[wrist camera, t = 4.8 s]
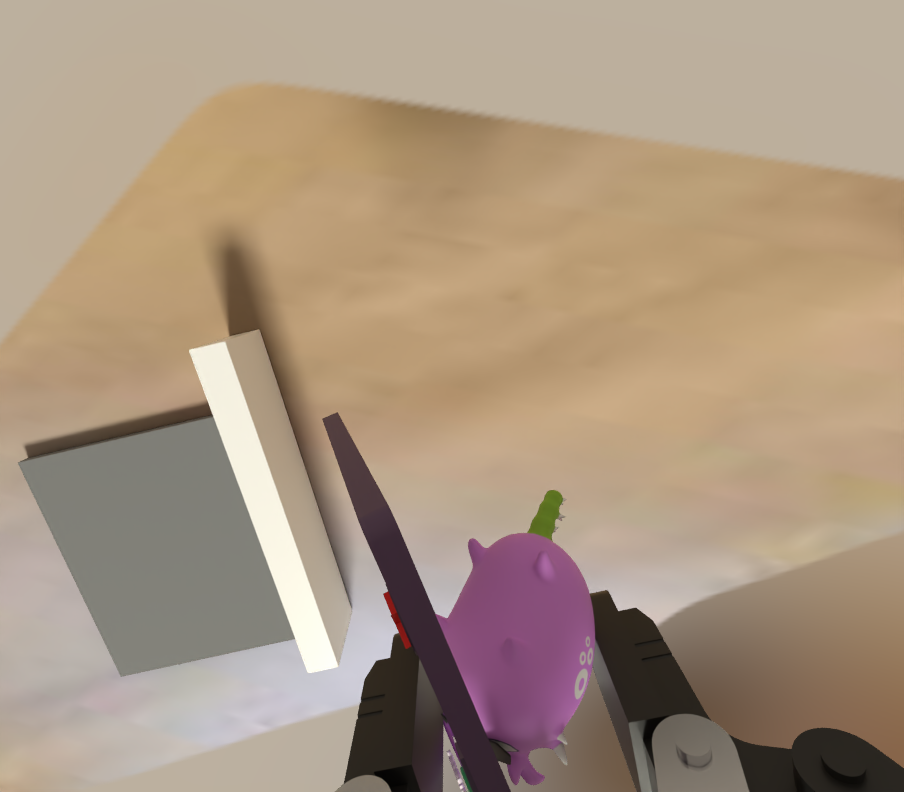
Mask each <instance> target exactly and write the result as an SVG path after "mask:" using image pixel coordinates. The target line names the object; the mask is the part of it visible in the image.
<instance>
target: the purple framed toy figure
mask: <svg viewBox="0 0 904 792" xmlns="http://www.w3.org/2000/svg"><path fill="white" fill-rule="evenodd" d="M323 422H324V425H325V428H326V431H327V433H328V436H329V439H330V442H331V445H332V447H333V450H334V453H335V456H336V459H337V461H338V464H339V467H340V470H341V473H342V476H343V478H344V481H345V484H346V487H347V490H348V492H349V495H350V498H351V501H352V504H353V506H354V509H355V512H356V515H357V518H358V520H359V523H360V526H361V528H362V530H363V533H364V535H365V537H366V540H367V542H368V544H369V547H370V549H371V551H372V553H373V556H374V558H375V560H376V562H377V565H378V567H379V569H380V571H381V573H382V576H383V578H384V580H385V582H386V586H387V589H388V592H386V593H384V594H383V595H384V597H385V600H386V602H387V605H388V607H389V610H390V612H391V614H392V615H391V617H392V619H393V621H394V622H395V624H396V627H397V629H398V631H399V634H400V636H401V638H402V641H403V643H404V646H405V648H406V649H407V648H409V647H411V646H412V648H413V650H414V652H415V654H416V656H417V655H418V656H419V659H420V661H421V663H422V665H423V668H424V670H425V672H426V674H427V677H428V679H429V681H430V683H431V686H432V688H433V690H434V692H435V695H436V697H437V699H438V701H439V704H440V706H441V708H442V710H443V714H442V713H441V716H442V718H443V724H444V727H445V729H446V732H447V734H448V737H449V739H450V742H451V744H452V746H453V749H454V751H455V753H456V755H457V757H458V759H459V762H460V764H461V766H462V767H461V768H460V769H461V773H462V775H463V778H464V780H465V783H466V785H467V788H468V791H466V790H465V787H464V785H463V782H462V779H461V777H460V773H459V771H458V769H457V766H456V763H455V761H454V758H453V755H452V753H451V751H450V750H449V751H447V754H448V757H449V759H450V762H451V765H452V768H453V770H454V773H455V776H456V778H457V781H458V783H459V787H460V789H461V792H511V791H510V789H509V786H508V784H507V782H506V779H505V777H504V775H503V772H502V770H501V768H500V765H499V763H498V761H501V762H503V763H506V764H507V767H508V772H509V776H510V778H511V780H512V782H513V783H514V784H515V785H517V784H518V782H519V779H520V775H521V776H522V777H523V779H524V780H525V781H526V782H527V783H528V784H530V785H537V784H539V783H541V782H542V781H543V780H544V778H545V777H544V776H543V775H541V774H540V773H538V772H537V771H536V770H535V769H534V768H533V766H532V765H531V763H530V761H529V759H528V755H529V753H530V751H531V750H534V749H538V748H550V749H552V750H554V751H555V753H556V754H557V755H558V757H559V758H560V760H561V761H562V762H563V763H564V764H565V765H567V757H566V753H565V749H564V745H563V743H564V744H566V745H567V741H566V738H565V736H564V733H563V730H564V728H565V726H566V725H567V723H568V722H569V720H570V719H571V717H572V716H573V714H574V713H575V711H576V709H577V707H578V706H579V703H580V702H581V700H582V697H583V695H584V693H585V690H586V688H587V685H588V682H589V679H590V675H591V671H592V666H593V659H594V650H595V624H594V614H593V607H592V602H591V597H590V594H589V590H588V587H587V585H586V582H585V580H584V578H583V575H582V574H581V572H580V570H579V568H578V567H577V565H576V564H575V562H574V561H573V560H572V559H571V557H570V556H569V555H568V554H567V553H566V552H565V551H564V550H563V549H562V548H560V547H559V546H558V545H556V544H555V543H553V541H552V533H553V532H555V530H556V529H558V527H555V520H556V519H559V520H560V521H562V518H563V517H566V516H563V515H561V514H560V513H559V506H560V505H561V504H562V505H563V501H564V500H566V499H564V498H562V495H561V494H560V493H559V492H558V491H556V490H550V491H548V492H547V493H546V495H545V497H544V500H543V502H542V503H541V504H540V507H539V510H538V513H537V515H536V516H535V517H534V519H533V520H532V523H531V526H530V529H529V531H528V532H527V533H518V534H511V535H508V536H506V537H504V538H501V539H500V540H498V541H497V542H495V543H494V544H492V545H491V546H490V547H489V548H484V547H483V546H481V544H480V543H479V542H478V541H477V540H475V539H473V538H472V539H470V540H469V542H468V549H469V553H470V556H471V559H472V563H473V569H472V572H471V574H470V576H469V578H468V580H467V582H466V584H465V586H464V588H463V590H462V592H461V594H460V596H459V598H458V600H457V602H456V604H455V606H454V608H453V610H452V612H451V613H450V615H449V617H448V618H444V617H442V616H440V615H437V614H435V612H434V610H433V608H432V605H431V603H430V600H429V598H428V596H427V593H426V591H425V589H424V586H423V584H422V582H421V579H420V577H419V575H418V572H417V570H416V568H415V565H414V563H413V560H412V558H411V556H410V553H409V551H408V549H407V546H406V544H405V542H404V539H403V537H402V535H401V532H400V530H399V528H398V525H397V523H396V521H395V519H394V516H393V514H392V512H391V510H390V508H389V506H388V504H387V502H386V500H385V499H384V497H383V495H382V493H381V491H380V489H379V488H378V486H377V484H376V482H375V480H374V478H373V477H372V475H371V473H370V471H369V469H368V467H367V466H366V464H365V462H364V460H363V458H362V456H361V455H360V453H359V451H358V449H357V447H356V445H355V444H354V442H353V440H352V438H351V436H350V434H349V433H348V431H347V429H346V427H345V425H344V423H343V422H342V420H341V418H340V416H339V414H338V412H337V413H335V414H332V415H330V416H328V417H325V418H323ZM452 736H453V737H455V739H456V743H454V740H453V737H452Z"/></svg>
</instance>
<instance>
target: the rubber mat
mask: <svg viewBox="0 0 904 792" xmlns="http://www.w3.org/2000/svg"><path fill="white" fill-rule="evenodd" d="M18 464H19V466H20V468H21V470H22V473H23V475H24V477H25V479H26V481H27V483H28V485H29V487H30V489H31V491H32V493H33V495H34V497H35V499H36V502H37V504H38V506H39V508H40V510H41V512H42V514H43V516H44V518H45V520H46V522H47V524H48V526H49V528H50V531H51V533H52V535H53V537H54V539H55V541H56V543H57V545H58V547H59V549H60V551H61V553H62V555H63V557H64V560H65V562H66V564H67V566H68V568H69V570H70V572H71V574H72V576H73V578H74V580H75V582H76V584H77V586H78V588H79V591H80V593H81V595H82V597H83V599H84V601H85V603H86V605H87V607H88V609H89V611H90V613H91V615H92V617H93V620H94V622H95V624H96V626H97V628H98V630H99V632H100V634H101V636H102V638H103V640H104V642H105V644H106V646H107V649H108V651H109V653H110V655H111V657H112V659H113V661H114V663H115V665H116V667H117V669H118V671H119V673H120V675H121V677H122V676H126V675H131V674H136V673H140V672H145V671H149V670H154V669H159V668H163V667H168V666H172V665H177V664H182V663H186V662H191V661H196V660H200V659H205V658H209V657H214V656H219V655H223V654H228V653H232V652H237V651H242V650H246V649H251V648H255V647H260V646H265V645H269V644H274V643H278V642H283V641H288V640H292V639H295V637H294V634H293V631H292V628H291V626H290V623H289V620H288V618H287V615H286V612H285V609H284V607H283V604H282V601H281V599H280V596H279V593H278V590H277V588H276V585H275V582H274V580H273V577H272V574H271V571H270V569H269V566H268V563H267V561H266V558H265V555H264V552H263V550H262V547H261V544H260V542H259V539H258V536H257V533H256V531H255V528H254V525H253V523H252V520H251V517H250V514H249V512H248V509H247V506H246V504H245V501H244V498H243V495H242V493H241V490H240V487H239V485H238V482H237V479H236V476H235V474H234V471H233V468H232V466H231V463H230V460H229V457H228V455H227V452H226V449H225V447H224V444H223V441H222V438H221V436H220V433H219V430H218V428H217V425H216V422H215V419H214V417H213V415H210V416H206V417H201V418H197V419H193V420H188V421H184V422H180V423H176V424H171V425H167V426H163V427H159V428H154V429H150V430H146V431H141V432H137V433H133V434H129V435H124V436H120V437H116V438H112V439H107V440H103V441H99V442H94V443H90V444H86V445H82V446H77V447H73V448H69V449H65V450H60V451H56V452H52V453H47V454H43V455H39V456H35V457H30V458H27V459H25V460H22V461H20V462H18Z"/></svg>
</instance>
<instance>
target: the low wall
mask: <svg viewBox="0 0 904 792" xmlns="http://www.w3.org/2000/svg"><path fill="white" fill-rule="evenodd" d="M189 352H190V354H191V357H192V360H193V363H194V365H195V368H196V371H197V373H198V376H199V379H200V382H201V384H202V387H203V390H204V392H205V395H206V398H207V400H208V403H209V406H210V409H211V411H212V414H213V417H214V419H215V422H216V425H217V428H218V430H219V433H220V436H221V438H222V441H223V444H224V447H225V449H226V452H227V455H228V457H229V460H230V463H231V466H232V468H233V471H234V474H235V476H236V479H237V482H238V485H239V487H240V490H241V493H242V495H243V498H244V501H245V504H246V506H247V509H248V512H249V514H250V517H251V520H252V523H253V525H254V528H255V531H256V533H257V536H258V539H259V542H260V544H261V547H262V550H263V552H264V555H265V558H266V561H267V563H268V566H269V569H270V571H271V574H272V577H273V580H274V582H275V585H276V588H277V590H278V593H279V596H280V599H281V601H282V604H283V607H284V609H285V612H286V615H287V618H288V620H289V623H290V626H291V628H292V631H293V634H294V637H295V639H296V642H297V645H298V647H299V650H300V653H301V656H302V658H303V661H304V664H305V666H306V669H307V672H308V673H312V672H316V671H321V670H326V669H330V668H335V667H338V666H339V662H340V658H341V654H342V650H343V646H344V642H345V639H346V635H347V631H348V627H349V623H350V619H351V615H352V609H351V606H350V603H349V600H348V597H347V594H346V591H345V588H344V584H343V581H342V578H341V575H340V572H339V569H338V566H337V563H336V560H335V557H334V554H333V551H332V548H331V545H330V542H329V539H328V536H327V533H326V530H325V527H324V524H323V521H322V518H321V515H320V512H319V509H318V506H317V502H316V499H315V496H314V493H313V490H312V487H311V484H310V481H309V478H308V475H307V472H306V469H305V466H304V463H303V460H302V457H301V454H300V451H299V448H298V445H297V442H296V439H295V436H294V433H293V430H292V427H291V424H290V421H289V417H288V414H287V411H286V408H285V405H284V402H283V399H282V396H281V393H280V390H279V387H278V384H277V381H276V378H275V375H274V372H273V369H272V366H271V363H270V360H269V357H268V354H267V351H266V348H265V345H264V342H263V339H262V335H261V332H260V329H258V330H254V331H250V332H245V333H241V334H237V335H233V336H229V337H226V338H223V339H220V340H217V341H214V342H211V343H208V344H205V345H202V346H199V347H196V348H193V349H190V350H189Z"/></svg>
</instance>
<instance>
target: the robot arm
mask: <svg viewBox="0 0 904 792" xmlns="http://www.w3.org/2000/svg"><path fill="white" fill-rule="evenodd" d="M590 597H591V602H592V607H593V614H594V624H595V650H594V659H593V669H594V672H595V675H596V678H597V681H598V684H599V687H600V690H601V692H602V695H603V698H604V701H605V704H606V707H607V709H608V712H609V714H610V718H611V721H612V723H613V726H614V729H615V732H616V735H617V737H618V740H619V743H620V746H621V749H622V751H623V754H624V757H625V760H626V762H627V765H628V768H629V771H630V774H631V777H632V780H633V782H634V785H635V788H636V791H637V792H904V768H902V767H901V766H900V765H898V764H897V763H896V762H894V761H893V760H892V759H890V758H889V757H887V756H886V755H884V754H883V753H882V752H880V751H879V750H878V749H877V748H875V747H874V746H872V745H871V744H869V743H868V742H866V741H864V740H863V739H861V738H859V737H857V736H855V735H852V734H850V733H847V732H844V731H841V730H837V729H831V728H816V729H811V730H807V731H805V732H803V733H801V734H800V735H799V736H798V737H797V738H796V739H795V741H794V743H793V746H792V749H785V748H777V747H768V746H760V745H755V744H750V743H747V742H743V741H741V740H739V739H736V738H734V737H732V736H731V735H729V734H727V733H726V731H724V730H723V729H722V728H721V727H720V726H719V725H717V724H716V723H714V722H713V721H711V719H710V718H709V717H708V715H707V714H706V712H705V711H704V709H703V707H702V706H701V704H700V702H699V700H698V699H697V697H696V695H695V693H694V692H693V690H692V688H691V686H690V685H689V683H688V681H687V679H686V678H685V676H684V674H683V672H682V671H681V669H680V667H679V665H678V664H677V662H676V660H675V658H674V657H673V656H672V653H671V651H670V650H669V648H668V646H667V645H666V643H665V642H664V640H663V637H662V636H661V634H660V632H659V630H658V629H657V627H656V625H655V623H654V622H653V620H651V619H650V618H649V617H647V616H646V615H645V614H643V613H642V612H641V611H640V610H638V609H637V608H632V609H627V610H622V611H618V610H617V608H616V606H615V604H614V602H613V600H612V598H611V595H610V594H609V592H608V591H607V590H605V591H601V592H596V593H591V594H590ZM441 713H442V714H443V710H442V708H441V706H440V704H439V701H438V699H437V697H436V695H435V692H434V690H433V688H432V686H431V683H430V681H429V679H428V677H427V674H426V672H425V670H424V668H423V665H422V663H421V661H420V659H419V656H418V655H417V656H416V654H415V652H414V650H413V648H412V646H411V647H409V648H407V649H406V648H405V646H404V643H403V641H402V638H401V636H400V634H399V633H398V634H395V635H394V637H393V643H392V650H391V657H390V658H388V659H383V660H378V661H376V662H375V664H374V666H373V667H372V669H371V670H370V672H369V674H368V675H367V677H366V678H365V681H364V686H363V691H362V696H361V703H360V706H359V711H358V719H357V721H356V726H355V731H354V736H353V741H352V746H351V751H350V756H349V761H348V766H347V771H346V776H345V781H344V784H343V785H342V786H341V787H340V788H338V789H337V790H336V791H335V792H443V718H442V716H441Z"/></svg>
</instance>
